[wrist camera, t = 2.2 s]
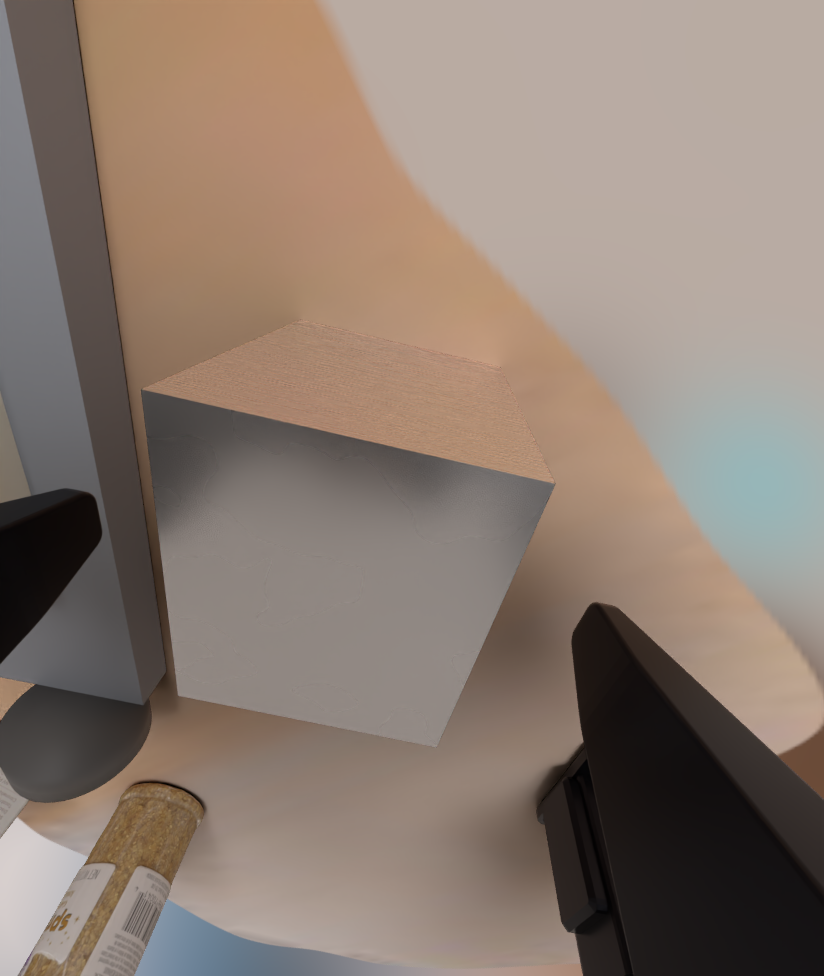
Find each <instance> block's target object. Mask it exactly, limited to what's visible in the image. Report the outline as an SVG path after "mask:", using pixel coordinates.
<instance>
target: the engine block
mask: <svg viewBox="0 0 824 976" xmlns="http://www.w3.org/2000/svg"><path fill="white" fill-rule="evenodd" d="M141 394H142V402H143V411H144V419H145V427H146V435H147V444H148V452H149V460H150V468H151V477H152V485H153V493H154V501H155V510H156V518H157V526H158V534H159V543H160V551H161V559H162V567H163V576H164V584H165V592H166V600H167V608H168V617H169V625H170V633H171V641H172V650H173V658H174V666H175V674H176V683H177V691H178V696H182V697H187V698H192V699H197V700H202V701H207V702H212V703H217V704H222V705H227V706H232V707H237V708H242V709H247V710H252V711H257V712H262V713H267V714H272V715H277V716H282V717H287V718H292V719H296V720H301V721H306V722H311V723H316V724H321V725H326V726H331V727H336V728H341V729H346V730H351V731H356V732H361V733H366V734H371V735H376V736H381V737H386V738H391V739H396V740H401V741H406V742H411V743H416V744H421V745H426V746H431V747H436V748H437V745H438V743H439V741H440V739H441V737H442V734H443V732H444V730H445V728H446V725H447V723H448V721H449V719H450V717H451V714H452V712H453V710H454V708H455V705H456V703H457V701H458V699H459V697H460V694H461V692H462V690H463V688H464V686H465V683H466V681H467V679H468V677H469V674H470V672H471V670H472V668H473V666H474V663H475V661H476V659H477V657H478V655H479V652H480V650H481V648H482V646H483V643H484V641H485V639H486V637H487V635H488V632H489V630H490V628H491V626H492V624H493V621H494V619H495V617H496V615H497V612H498V610H499V608H500V606H501V604H502V601H503V599H504V597H505V595H506V592H507V590H508V588H509V586H510V584H511V581H512V579H513V577H514V575H515V573H516V570H517V568H518V566H519V564H520V561H521V559H522V557H523V555H524V553H525V550H526V548H527V546H528V544H529V542H530V539H531V537H532V535H533V533H534V530H535V528H536V526H537V524H538V522H539V519H540V517H541V515H542V513H543V511H544V508H545V506H546V504H547V502H548V499H549V497H550V495H551V493H552V491H553V488H554V486H555V482H554V480H553V478H552V475H551V473H550V471H549V469H548V467H547V465H546V463H545V461H544V458H543V456H542V454H541V452H540V450H539V448H538V446H537V443H536V441H535V439H534V437H533V435H532V433H531V431H530V429H529V426H528V424H527V422H526V420H525V418H524V416H523V414H522V412H521V409H520V407H519V405H518V403H517V401H516V399H515V397H514V394H513V392H512V390H511V388H510V386H509V384H508V382H507V380H506V377H505V375H504V373H503V371H502V369H501V367H498V366H494V365H489V364H485V363H481V362H477V361H473V360H468V359H464V358H460V357H456V356H452V355H448V354H443V353H439V352H435V351H431V350H427V349H422V348H418V347H414V346H410V345H406V344H401V343H397V342H393V341H389V340H385V339H380V338H376V337H372V336H368V335H364V334H360V333H355V332H351V331H347V330H343V329H339V328H334V327H330V326H326V325H322V324H318V323H313V322H309V321H305V320H301V319H300V320H297V321H295V322H293V323H291V324H288V325H286V326H284V327H282V328H279V329H277V330H275V331H272V332H270V333H268V334H266V335H263V336H261V337H259V338H256V339H254V340H252V341H250V342H247V343H245V344H243V345H240V346H238V347H236V348H234V349H231V350H229V351H227V352H224V353H222V354H220V355H218V356H215V357H213V358H211V359H208V360H206V361H204V362H202V363H199V364H197V365H195V366H192V367H190V368H188V369H186V370H183V371H181V372H179V373H177V374H174V375H172V376H170V377H167V378H165V379H163V380H161V381H158V382H156V383H154V384H151V385H149V386H147V387H145V388H142V389H141Z"/></svg>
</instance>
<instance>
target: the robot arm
mask: <svg viewBox="0 0 824 976" xmlns="http://www.w3.org/2000/svg"><path fill="white" fill-rule="evenodd" d="M102 532H103V531H102V525H101V520H100V515H99V510H98V506H97V501H96V498H95V497H94V496H93V495H92V494H91V493H89V492H85V491H80V490H75V489H70V488H62V489H58V490H53V491H49V492H45V493H41V494H37V495H32V496H28V497H24V498H20V499H15V500H11V501H7V502H3V503H0V664H1V663H2V662H3V661H4V660H5V659H6V658H7V657H8V655H9V654H10V653H11V652H12V651H13V650H14V649H15V648H16V647H17V646H18V645H19V643H20V642H21V641H22V640H23V639H24V638H25V637H26V636H27V635H28V634H29V633H30V632H31V630H32V629H33V628H34V627H35V626H36V625H37V624H38V622H39V621H40V620H41V619H42V618H43V617H44V615H45V614H46V613H47V612H48V610H49V609H50V608H51V607H52V605H53V604H54V603H55V601H56V600H57V599H58V597H59V596H60V595H61V593H62V592H63V591H64V589H65V588H66V587H67V585H68V584H69V583H70V582H71V580H72V579H73V578H74V576H75V575H76V574H77V572H78V571H79V570H80V568H81V567H82V566H83V564H84V563H85V562H86V560H87V559H88V558H89V556H90V555H91V554H92V552H93V551H94V550H95V548H96V547H97V546H98V544H99V542H100V540H101V538H102ZM571 643H572V654H573V663H574V672H575V681H576V691H577V700H578V709H579V717H580V724H581V730H582V735H583V741H584V746H585V748H584V749H583V750H582V752H581V753H580V754H579V755H578V757H577V758H576V759H575V761H574V762H573V763H572V764H571V766H570V767H569V768H568V769H567V771H566V772H565V773H564V775H563V776H562V777H561V778H560V780H559V781H558V782H557V783H556V785H555V786H554V787H553V789H552V790H551V791H550V792H549V794H548V795H547V796H546V797H545V799H544V800H543V801H542V802H541V804H540V805H539V806H538V808H537V810H536V812H537V818H538V821H539V822H540V823H541V824H545V829H546V834H547V840H548V846H549V852H550V858H551V864H552V870H553V875H554V881H555V887H556V893H557V899H558V905H559V911H560V916H561V922H562V924H563V925H564V927H565V929H566V930H567V932H571V933H575V936H576V941H577V946H578V952H579V957H580V962H581V968H582V973H583V976H824V799H823V798H822V797H821V796H820V795H819V794H818V793H817V792H815V791H814V790H813V789H812V788H811V787H810V786H809V785H808V784H807V783H806V782H805V781H804V780H803V779H802V778H800V777H799V776H798V775H797V774H796V773H795V772H794V771H793V770H792V769H791V768H790V767H789V766H788V765H786V764H785V763H784V762H783V761H782V760H781V759H780V758H779V757H778V756H777V755H776V754H775V753H774V752H772V751H771V750H770V749H769V748H768V747H767V746H766V745H765V744H764V743H763V742H762V741H761V740H760V739H758V738H757V737H756V736H755V735H754V734H753V733H752V732H751V731H750V730H749V729H748V728H747V727H746V726H744V725H743V724H742V723H741V722H740V721H739V720H738V719H737V718H736V717H735V716H734V715H733V714H732V713H730V712H729V711H728V710H727V709H726V708H725V707H724V706H723V705H722V704H721V703H720V702H719V701H718V700H717V699H715V698H714V697H713V696H712V695H711V694H710V693H709V692H708V691H707V690H706V689H705V688H704V687H703V686H701V685H700V684H699V683H698V682H697V681H696V680H695V679H694V678H693V677H692V676H691V675H690V674H689V673H687V672H686V671H685V670H684V669H683V668H682V667H681V666H680V665H679V664H678V663H677V662H676V661H675V660H673V659H672V658H671V657H670V656H669V655H668V654H667V653H666V652H665V651H664V650H663V649H662V648H661V647H659V646H658V645H657V644H656V643H655V642H654V641H653V640H652V639H651V638H650V637H649V636H648V635H647V634H645V633H644V632H643V631H642V630H641V629H640V628H639V627H638V626H637V625H636V624H635V623H634V622H633V621H632V620H630V619H629V618H628V617H627V616H626V615H625V614H624V613H623V612H622V611H621V610H620V609H618V608H617V607H615V606H612V605H608V604H603V603H598V602H595V603H592V604H590V605H589V607H588V608H587V610H586V611H585V613H584V615H583V616H582V618H581V620H580V621H579V623H578V625H577V626H576V628H575V630H574V632H573V635H572V642H571Z"/></svg>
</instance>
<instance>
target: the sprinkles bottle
mask: <svg viewBox="0 0 824 976" xmlns="http://www.w3.org/2000/svg"><path fill="white" fill-rule="evenodd" d="M203 816H204V811H203V808H202V806H201V804H200V803H199V802H198V801H197V800H196V799H195V798H194V797H193V796H191V795H190V794H189V793H187V792H185V791H184V790H181V789H178V788H175V787H171V786H168V785H165V784H161V783H144V784H138V785H134V786H131V787H130V788H129V789H128V790H126V791H125V793H124V794H123V795H122V796H121V798H120V801H119V805H118V807H117V809H116V811H115V813H114V814H113V816H112V818H111V819H110V821H109V823H108V825H107V827H106V828H105V830H104V831H103V833H102V835H101V836H100V838H99V840H98V841H97V843H96V845H95V847H94V848H93V850H92V852H91V854H90V856H89V857H88V859H87V861H86V863H85V864H84V866H83V867H82V868H81V869H80V870H79V872H78V873H77V875H76V877H75V878H74V880H73V882H72V883H71V885H70V887H69V889H68V890H67V892H66V894H65V896H64V897H63V899H62V901H61V902H60V904H59V906H58V908H57V910H56V911H55V913H54V915H53V916H52V918H51V920H50V922H49V923H48V925H47V927H46V929H45V930H44V932H43V934H42V935H41V937H40V939H39V940H38V942H37V944H36V946H35V947H34V949H33V951H32V952H31V954H30V956H29V957H28V959H27V961H26V963H25V964H24V966H23V968H22V969H21V971H20V973H19V974H18V976H134V974H135V972H136V970H137V967H138V965H139V963H140V960H141V958H142V956H143V953H144V951H145V949H146V946H147V944H148V942H149V939H150V937H151V935H152V932H153V930H154V928H155V925H156V923H157V921H158V918H159V916H160V913H161V911H162V909H163V907H164V904H165V902H166V900H167V897H168V895H169V893H170V889H171V885H172V882H173V879H174V877H175V875H176V873H177V871H178V868H179V866H180V864H181V861H182V859H183V856H184V854H185V852H186V849H187V847H188V845H189V842H190V841H191V838H192V836H193V834H194V832H195V829H196V828H197V827H198V826H199V825H200V823H201V821H202V819H203Z"/></svg>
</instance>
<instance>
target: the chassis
mask: <svg viewBox="0 0 824 976" xmlns="http://www.w3.org/2000/svg"><path fill="white" fill-rule="evenodd" d="M62 488H70V489H75V490H80V491H85V492H89V493H91V494H92V495H93V496H94V497H95V498H96V501H97V506H98V510H99V515H100V520H101V525H102V531H103V532H102V538H101V540H100V542H99V544H98V546H97V547H96V548H95V550H94V551H93V552H92V554H91V555H90V556H89V558H88V559H87V560H86V562H85V563H84V564H83V566H82V567H81V568H80V570H79V571H78V572H77V574H76V575H75V576H74V578H73V579H72V580H71V582H70V583H69V584H68V585H67V587H66V588H65V589H64V591H63V592H62V593H61V595H60V596H59V597H58V599H57V600H56V601H55V603H54V604H53V605H52V607H51V608H50V609H49V610H48V612H47V613H46V614H45V615H44V617H43V618H42V619H41V620H40V621H39V622H38V624H37V625H36V626H35V627H34V628H33V629H32V630H31V632H30V633H29V634H28V635H27V636H26V637H25V638H24V639H23V640H22V641H21V642H20V643H19V645H18V646H17V647H16V648H15V649H14V650H13V651H12V652H11V653H10V654H9V655H8V657H7V658H6V659H5V660H4V661H3V662H2V663H1V664H0V677H2V678H7V679H12V680H17V681H22V682H28V683H33V684H36V685H34V686H33V687H31V688H30V689H29V690H28V691H26V692H25V693H24V694H23V695H22V696H21V697H20V698H19V699H18V700H17V701H16V702H15V703H14V704H13V705H12V706H11V707H10V708H9V710H8V711H7V713H6V714H5V715H4V717H3V719H2V720H1V722H0V768H1V769H2V771H3V773H4V775H5V776H6V778H7V780H8V782H9V784H10V785H11V787H12V788H13V789H14V791H15V792H16V793H18V794H19V795H20V796H22V797H24V798H26V799H28V800H31V801H35V802H43V803H50V802H60V801H65V800H69V799H73V798H76V797H79V796H81V795H84V794H86V793H88V792H91V791H93V790H95V789H97V788H98V787H100V786H102V785H103V784H105V783H106V782H108V781H109V780H111V779H112V778H113V777H115V776H116V775H117V774H118V773H120V772H121V771H122V770H123V769H124V768H125V767H126V766H127V765H128V764H129V763H130V762H131V761H132V760H133V758H134V757H135V756H136V755H137V753H138V752H139V751H140V749H141V748H142V746H143V744H144V742H145V740H146V738H147V736H148V733H149V730H150V727H151V721H152V712H151V706H150V701H149V696H150V695H151V693H152V692H153V690H154V689H155V687H156V686H157V684H158V683H159V681H160V680H161V678H162V677H163V675H164V674H165V672H166V664H165V657H164V650H163V643H162V635H161V628H160V621H159V614H158V607H157V600H156V593H155V586H154V578H153V571H152V564H151V557H150V550H149V543H148V536H147V528H146V521H145V514H144V507H143V500H142V493H141V486H140V479H139V471H138V464H137V457H136V450H135V443H134V436H133V429H132V421H131V414H130V407H129V400H128V393H127V386H126V379H125V371H124V364H123V357H122V350H121V343H120V336H119V329H118V322H117V314H116V307H115V300H114V293H113V286H112V279H111V272H110V264H109V257H108V250H107V243H106V236H105V229H104V222H103V215H102V207H101V200H100V193H99V186H98V179H97V172H96V165H95V157H94V150H93V143H92V136H91V129H90V122H89V115H88V107H87V100H86V93H85V86H84V79H83V72H82V65H81V58H80V50H79V43H78V36H77V29H76V22H75V15H74V8H73V0H0V503H3V502H7V501H11V500H15V499H20V498H24V497H28V496H32V495H37V494H41V493H45V492H49V491H53V490H58V489H62Z"/></svg>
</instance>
